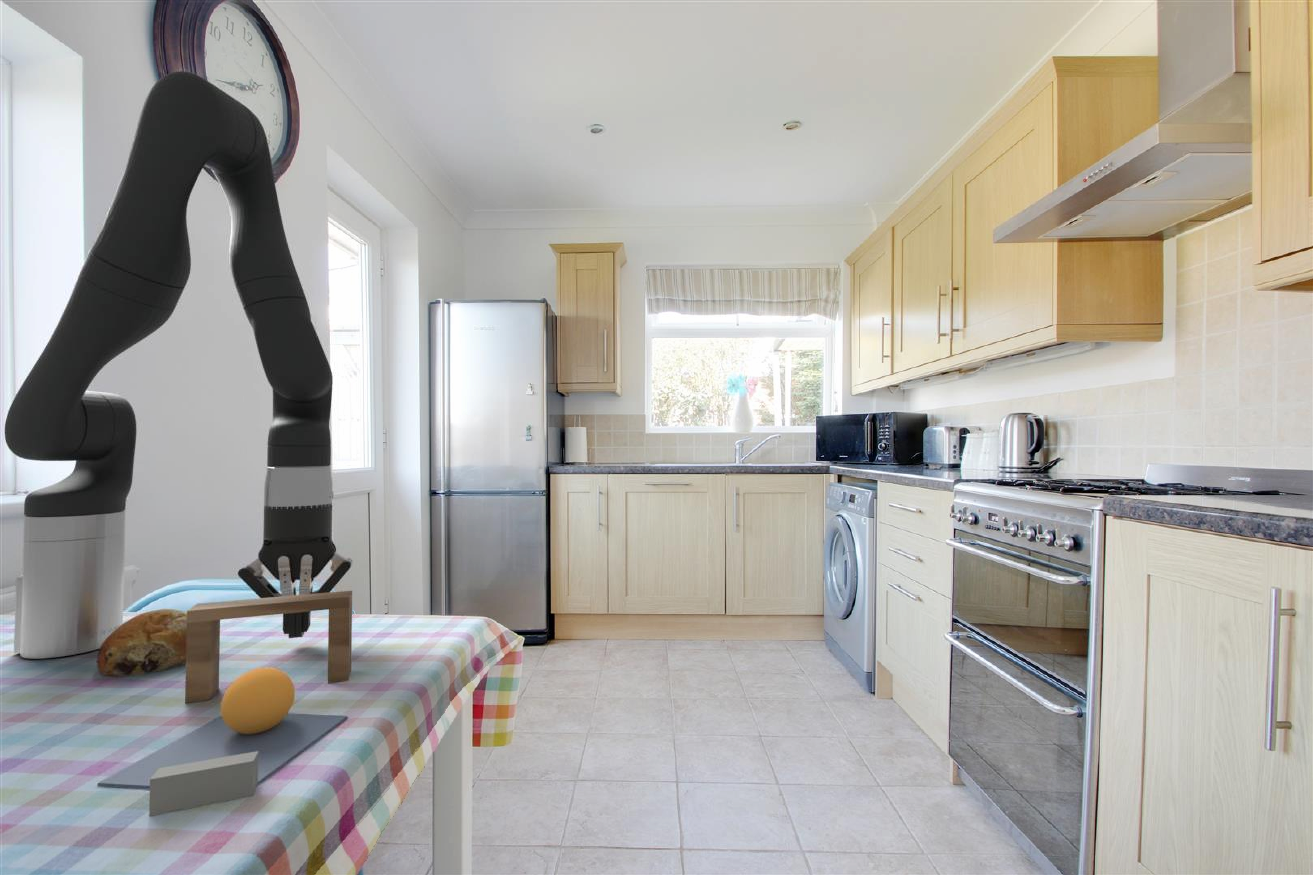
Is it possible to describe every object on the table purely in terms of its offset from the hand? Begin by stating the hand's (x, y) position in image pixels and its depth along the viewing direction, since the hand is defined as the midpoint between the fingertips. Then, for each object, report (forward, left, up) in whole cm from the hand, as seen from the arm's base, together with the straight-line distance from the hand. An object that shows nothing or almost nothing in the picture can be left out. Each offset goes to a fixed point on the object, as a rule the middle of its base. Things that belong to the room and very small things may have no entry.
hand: (296, 635), depth 73 cm
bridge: (+6, -11, -2) cm, 13 cm away
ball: (+12, -21, +1) cm, 24 cm away
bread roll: (-14, -6, -2) cm, 15 cm away
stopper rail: (+16, -31, -2) cm, 35 cm away
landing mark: (+13, -24, -2) cm, 27 cm away
